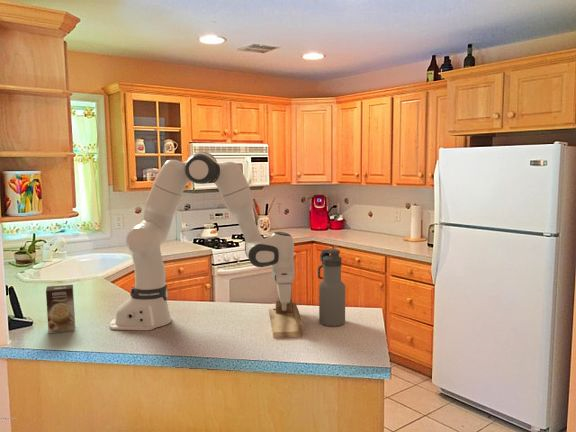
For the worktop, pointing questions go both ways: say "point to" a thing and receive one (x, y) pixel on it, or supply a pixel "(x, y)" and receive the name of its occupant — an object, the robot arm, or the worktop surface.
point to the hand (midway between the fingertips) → (283, 307)
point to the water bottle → (331, 289)
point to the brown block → (279, 306)
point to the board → (286, 323)
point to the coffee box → (60, 308)
